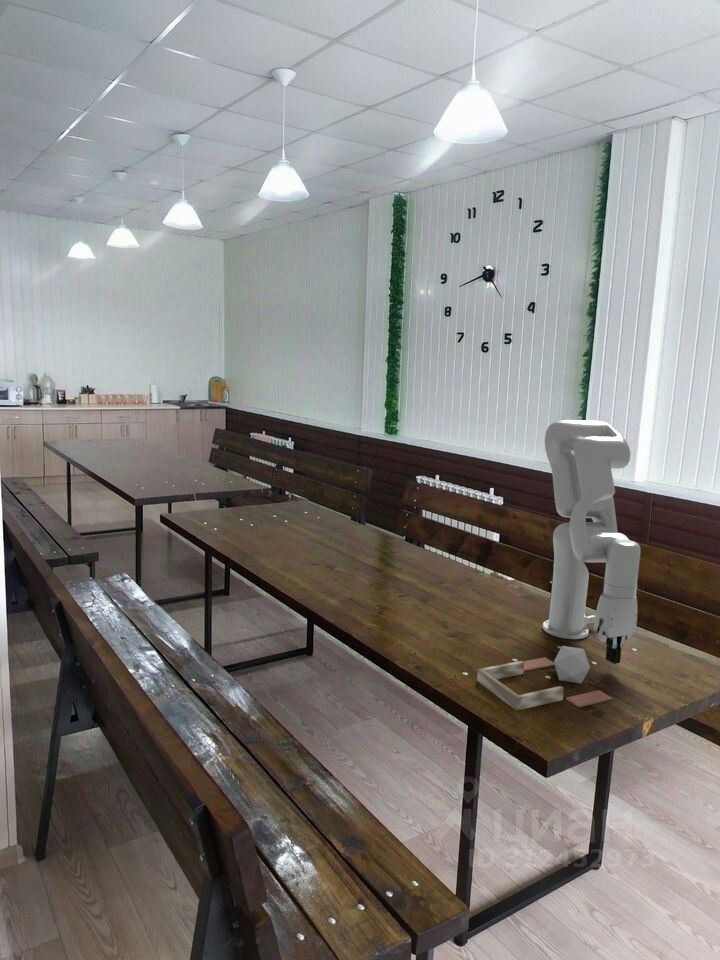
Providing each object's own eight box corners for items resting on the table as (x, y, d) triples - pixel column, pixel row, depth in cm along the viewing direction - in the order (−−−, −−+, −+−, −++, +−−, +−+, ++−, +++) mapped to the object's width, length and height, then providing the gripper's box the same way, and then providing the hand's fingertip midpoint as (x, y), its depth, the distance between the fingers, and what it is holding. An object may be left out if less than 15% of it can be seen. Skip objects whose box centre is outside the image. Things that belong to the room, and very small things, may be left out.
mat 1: (544, 658, 183) (545, 657, 183) (555, 665, 180) (555, 663, 180) (513, 664, 179) (513, 663, 179) (523, 671, 175) (523, 669, 175)
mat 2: (599, 691, 167) (599, 690, 167) (611, 699, 163) (611, 697, 163) (566, 699, 162) (566, 697, 162) (578, 707, 159) (578, 705, 159)
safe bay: (520, 672, 175) (521, 660, 174) (562, 700, 162) (563, 687, 161) (476, 681, 169) (477, 669, 169) (516, 710, 156) (517, 698, 156)
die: (589, 677, 175) (571, 640, 178) (602, 675, 167) (583, 637, 170) (560, 691, 174) (542, 653, 176) (572, 689, 166) (552, 650, 168)
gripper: (630, 582, 181) (623, 651, 183) (585, 589, 174) (578, 660, 177) (654, 591, 174) (646, 662, 177) (608, 598, 167) (601, 672, 170)
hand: (612, 661), depth 177 cm, fingers closed
